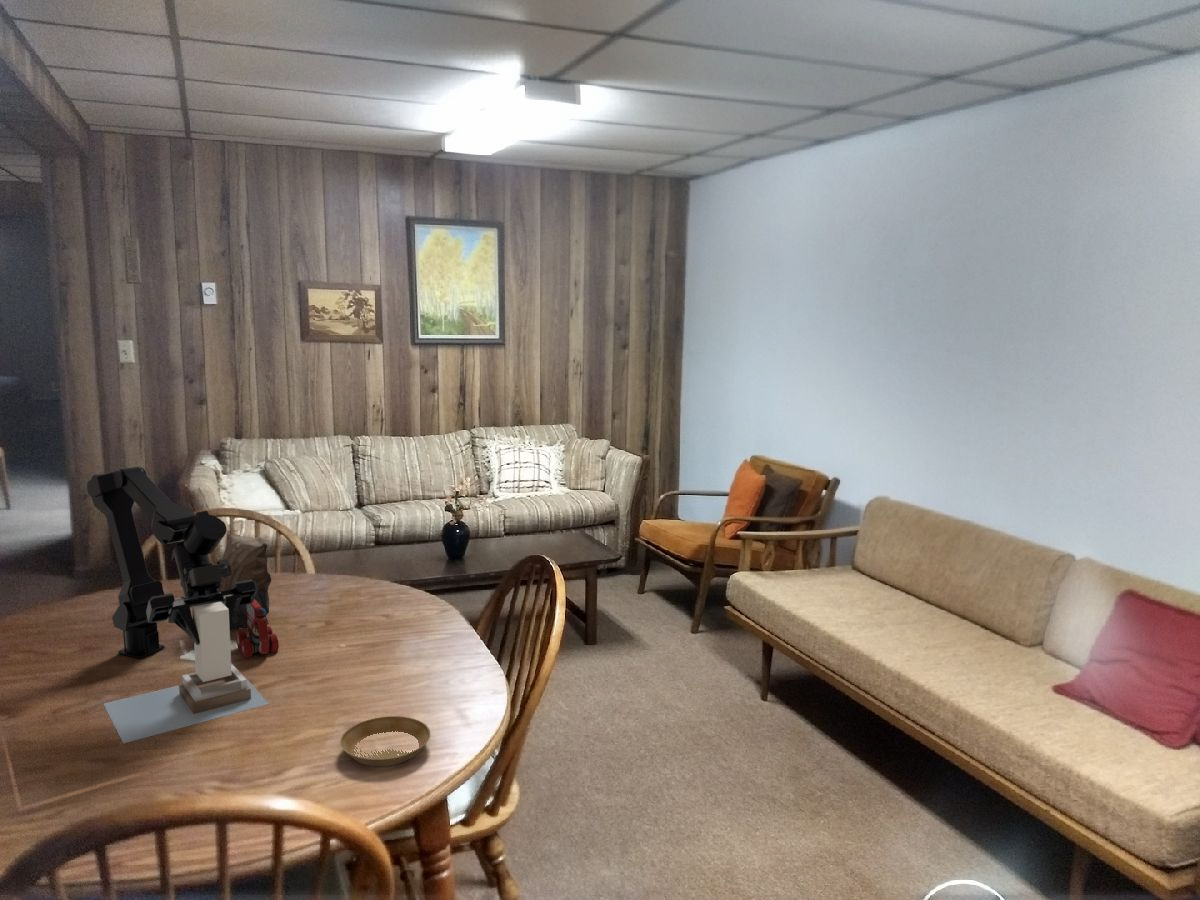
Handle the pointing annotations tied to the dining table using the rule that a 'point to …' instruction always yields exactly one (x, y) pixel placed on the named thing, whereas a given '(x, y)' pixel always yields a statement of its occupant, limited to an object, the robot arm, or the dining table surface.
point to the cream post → (212, 641)
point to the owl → (247, 572)
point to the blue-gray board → (166, 712)
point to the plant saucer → (384, 725)
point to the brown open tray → (213, 691)
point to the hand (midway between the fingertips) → (214, 640)
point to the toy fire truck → (256, 633)
